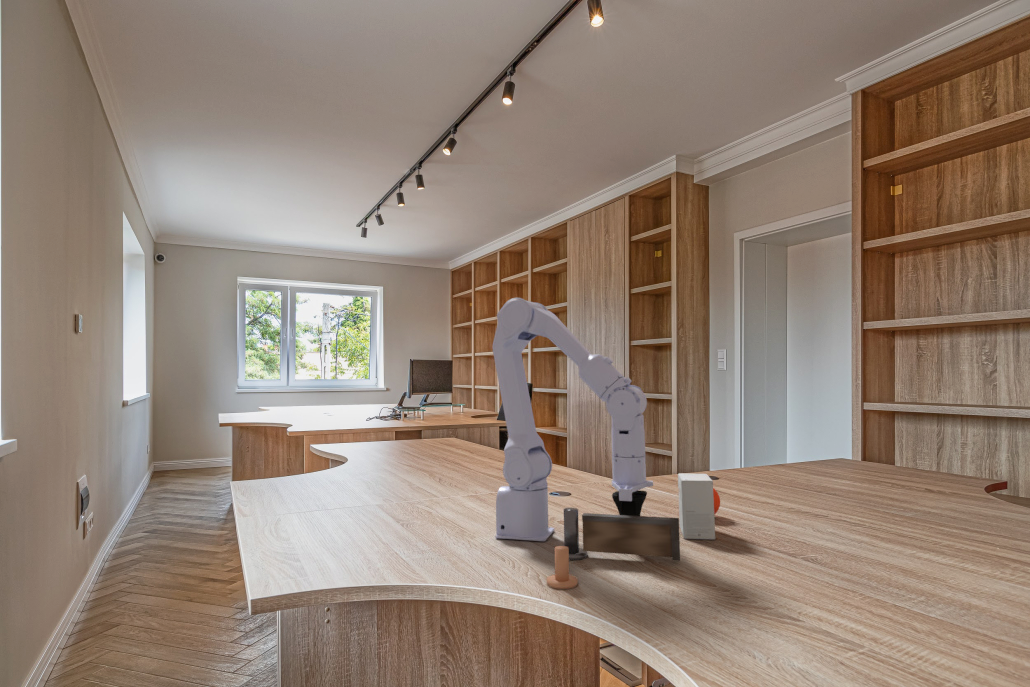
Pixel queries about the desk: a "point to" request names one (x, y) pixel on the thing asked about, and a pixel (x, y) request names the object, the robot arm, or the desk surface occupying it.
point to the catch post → (562, 571)
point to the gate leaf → (631, 535)
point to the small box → (696, 506)
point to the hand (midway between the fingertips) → (630, 534)
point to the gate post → (572, 534)
